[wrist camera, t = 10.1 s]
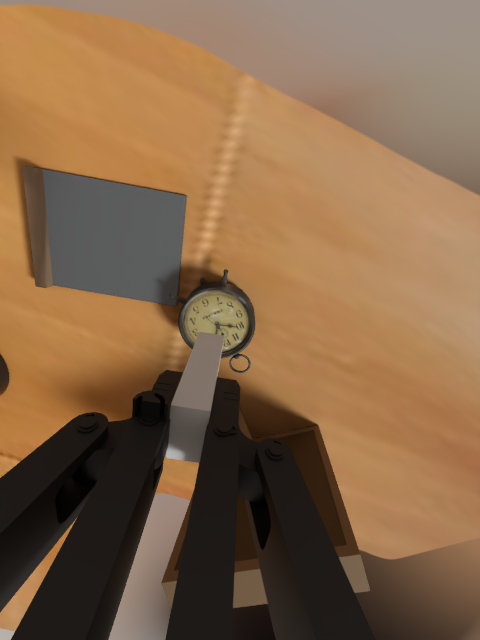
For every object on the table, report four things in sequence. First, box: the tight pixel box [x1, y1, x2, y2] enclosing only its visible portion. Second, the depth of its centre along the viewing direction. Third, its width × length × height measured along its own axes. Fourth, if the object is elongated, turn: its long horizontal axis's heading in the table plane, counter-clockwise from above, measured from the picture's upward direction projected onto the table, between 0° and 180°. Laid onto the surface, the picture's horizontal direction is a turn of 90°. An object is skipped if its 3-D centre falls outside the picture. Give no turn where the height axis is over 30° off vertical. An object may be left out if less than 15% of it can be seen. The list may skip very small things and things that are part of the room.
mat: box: [43, 169, 187, 306], centre depth 40 cm, size 20×16×1 cm
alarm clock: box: [170, 270, 255, 373], centre depth 42 cm, size 11×5×16 cm
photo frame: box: [162, 407, 370, 609], centre depth 41 cm, size 15×22×25 cm
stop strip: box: [22, 165, 53, 288], centre depth 39 cm, size 2×16×2 cm, turn 170°
